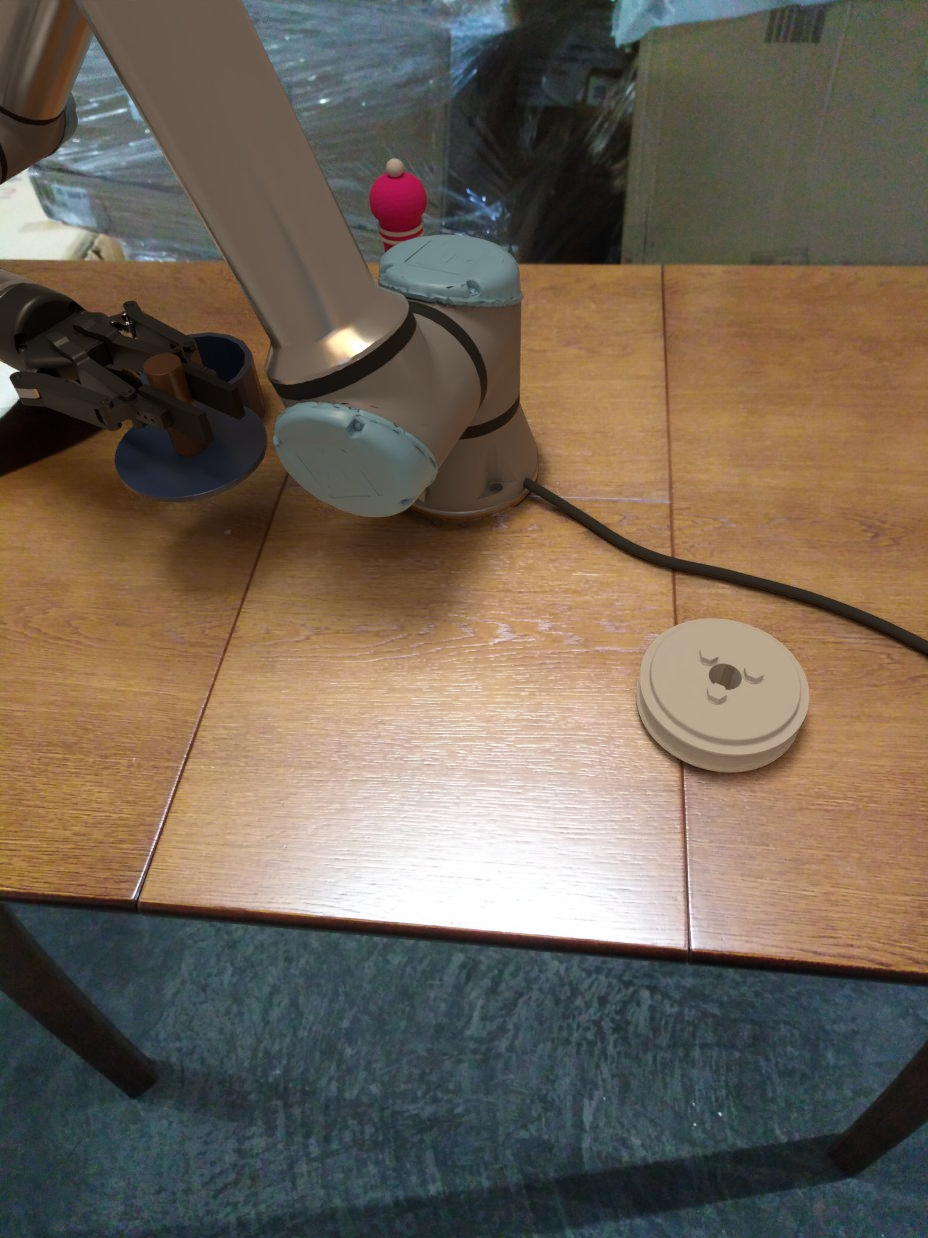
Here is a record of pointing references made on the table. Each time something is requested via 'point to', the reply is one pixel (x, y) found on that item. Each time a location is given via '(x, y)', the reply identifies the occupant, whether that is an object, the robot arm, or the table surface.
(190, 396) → the bowl lid
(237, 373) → the bowl
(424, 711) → the table surface
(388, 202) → the pepper mill
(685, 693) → the beige round base
